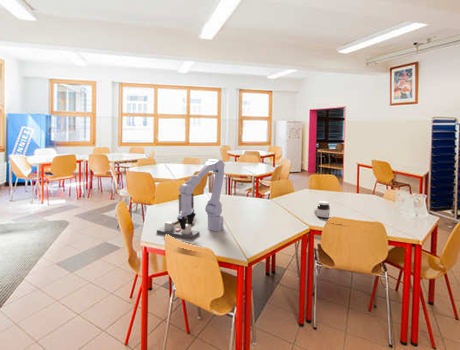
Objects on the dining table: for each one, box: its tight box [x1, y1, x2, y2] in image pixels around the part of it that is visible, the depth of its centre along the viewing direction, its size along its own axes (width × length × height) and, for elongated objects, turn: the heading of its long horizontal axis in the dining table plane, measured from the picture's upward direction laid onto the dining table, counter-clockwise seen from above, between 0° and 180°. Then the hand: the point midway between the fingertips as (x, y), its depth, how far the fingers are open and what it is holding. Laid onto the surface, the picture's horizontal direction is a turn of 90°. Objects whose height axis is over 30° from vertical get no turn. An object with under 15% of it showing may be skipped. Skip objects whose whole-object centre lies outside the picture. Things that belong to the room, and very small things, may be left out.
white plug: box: [182, 224, 192, 235], centre depth 175 cm, size 4×4×7 cm
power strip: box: [156, 225, 200, 241], centre depth 178 cm, size 24×9×3 cm, turn 67°
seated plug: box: [164, 220, 175, 231], centre depth 180 cm, size 4×4×7 cm
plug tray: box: [173, 220, 195, 228], centre depth 192 cm, size 12×12×2 cm
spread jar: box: [313, 200, 331, 220], centre depth 217 cm, size 12×11×12 cm
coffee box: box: [178, 193, 195, 218], centre depth 214 cm, size 9×6×16 cm
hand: (186, 227), depth 175 cm, fingers open, 7 cm apart
